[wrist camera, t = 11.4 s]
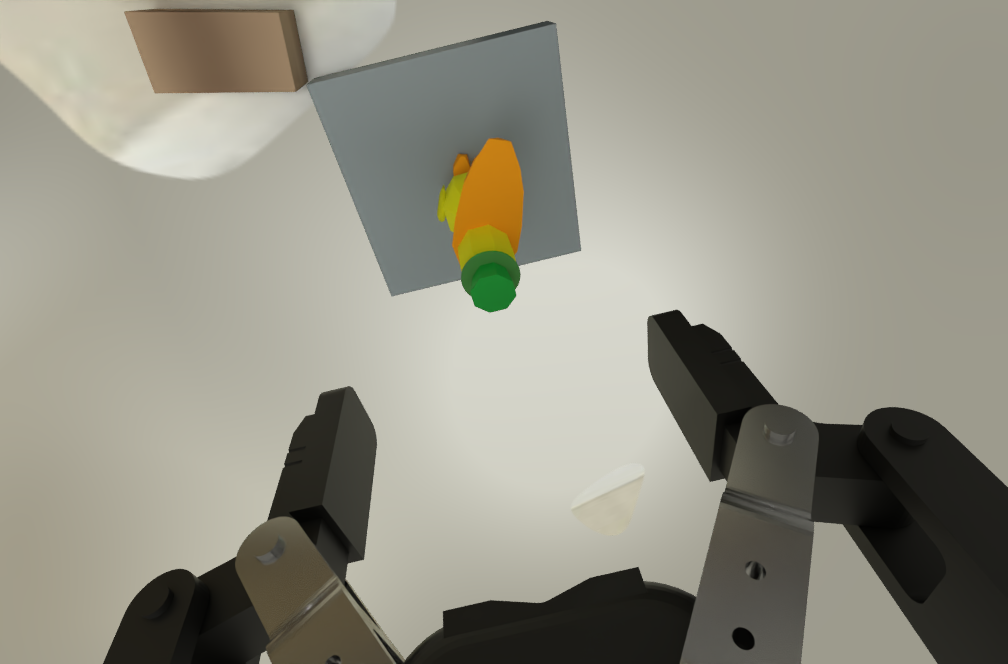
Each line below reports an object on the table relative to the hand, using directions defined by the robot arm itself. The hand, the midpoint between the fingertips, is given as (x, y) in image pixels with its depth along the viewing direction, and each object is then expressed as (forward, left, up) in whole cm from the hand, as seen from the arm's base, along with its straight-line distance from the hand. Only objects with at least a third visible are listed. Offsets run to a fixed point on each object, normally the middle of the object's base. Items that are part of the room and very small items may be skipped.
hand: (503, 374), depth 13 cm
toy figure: (0, 0, -16) cm, 16 cm away
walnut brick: (+9, -8, -19) cm, 22 cm away
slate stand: (0, 0, -18) cm, 18 cm away
